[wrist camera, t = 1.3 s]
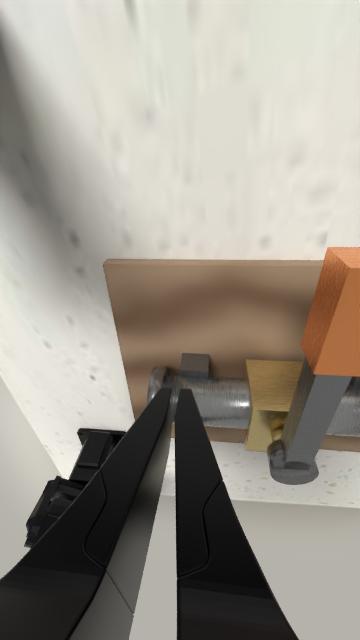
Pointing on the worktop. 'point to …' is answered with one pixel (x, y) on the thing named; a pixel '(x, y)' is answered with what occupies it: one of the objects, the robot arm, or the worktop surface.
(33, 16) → the worktop surface
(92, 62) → the worktop surface
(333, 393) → the lever
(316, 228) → the worktop surface
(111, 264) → the mounting board
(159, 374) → the valve body
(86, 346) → the worktop surface
